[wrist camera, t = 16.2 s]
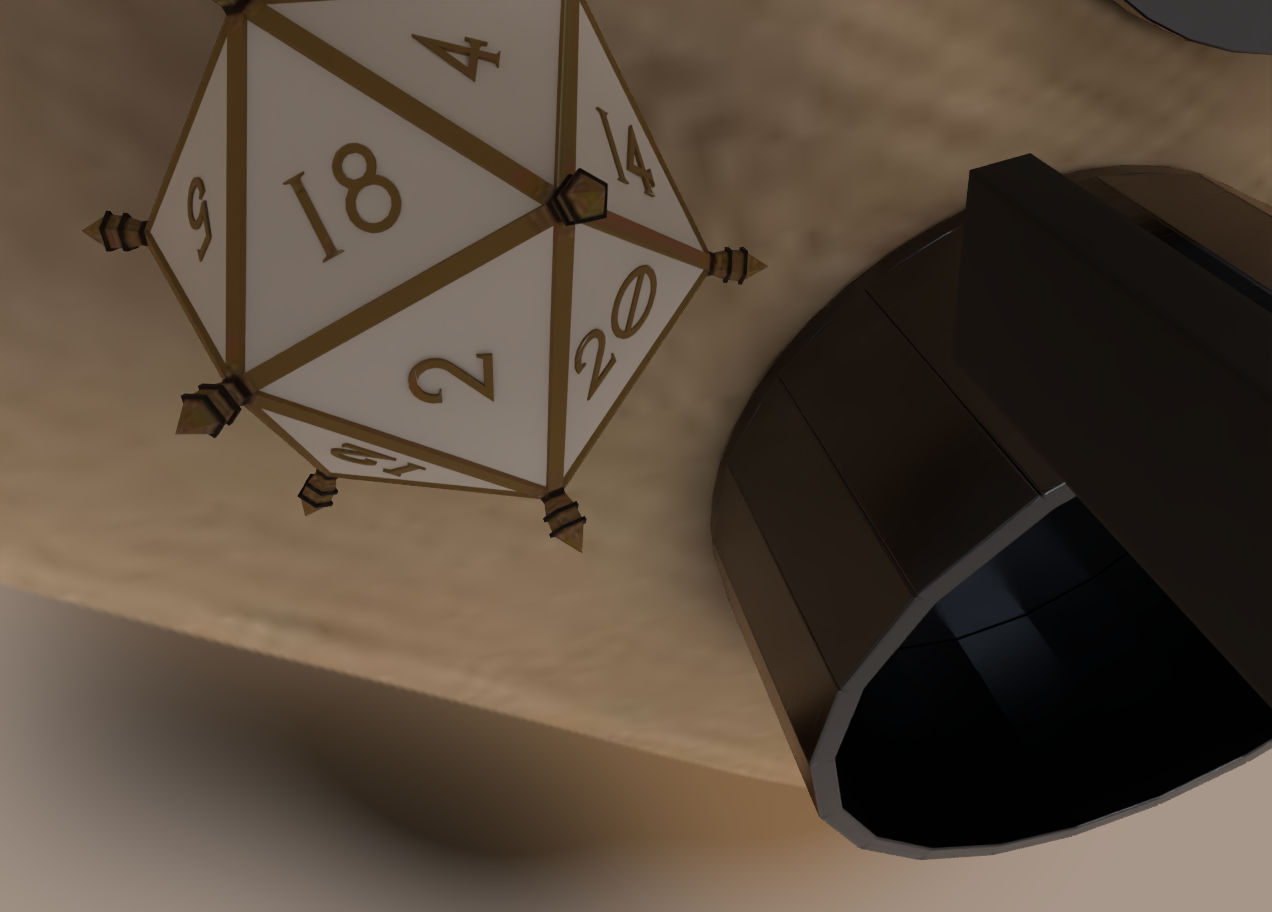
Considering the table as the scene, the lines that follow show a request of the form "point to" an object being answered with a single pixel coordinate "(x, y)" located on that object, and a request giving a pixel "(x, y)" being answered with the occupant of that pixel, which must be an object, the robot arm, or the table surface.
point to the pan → (967, 572)
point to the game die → (422, 241)
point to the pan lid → (1211, 21)
